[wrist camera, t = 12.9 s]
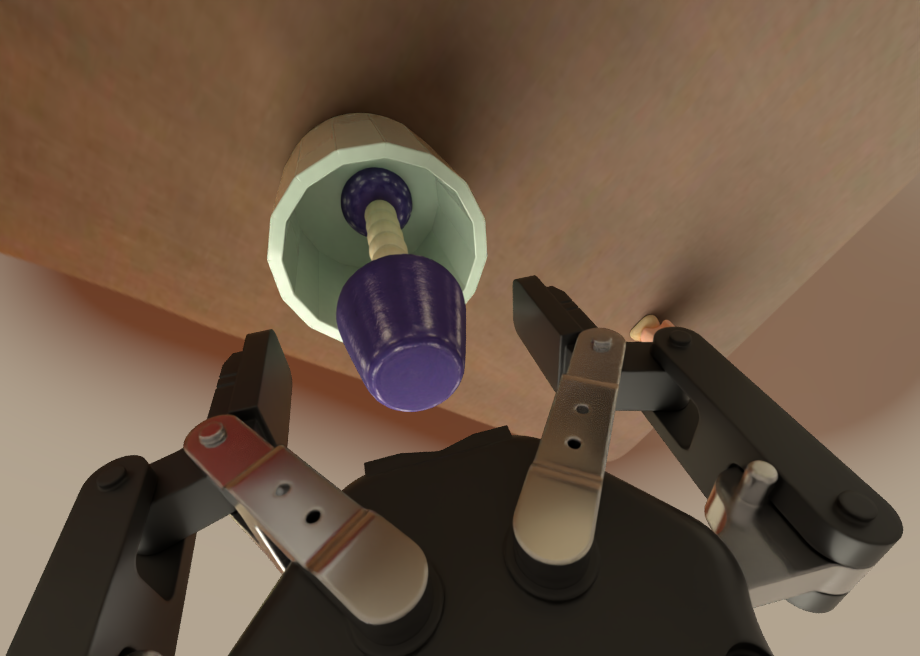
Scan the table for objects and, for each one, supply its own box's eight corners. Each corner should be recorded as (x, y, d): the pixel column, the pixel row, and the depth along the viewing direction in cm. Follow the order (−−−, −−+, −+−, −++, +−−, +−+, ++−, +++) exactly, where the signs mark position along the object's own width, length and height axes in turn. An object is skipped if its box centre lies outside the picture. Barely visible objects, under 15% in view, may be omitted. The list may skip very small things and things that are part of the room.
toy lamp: (369, 255, 28) (414, 456, 14) (312, 201, 25) (302, 387, 12) (425, 205, 27) (528, 368, 14) (372, 144, 24) (436, 273, 11)
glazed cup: (258, 125, 23) (230, 165, 16) (433, 101, 25) (480, 127, 18) (310, 283, 29) (306, 365, 22) (450, 255, 30) (491, 323, 23)
